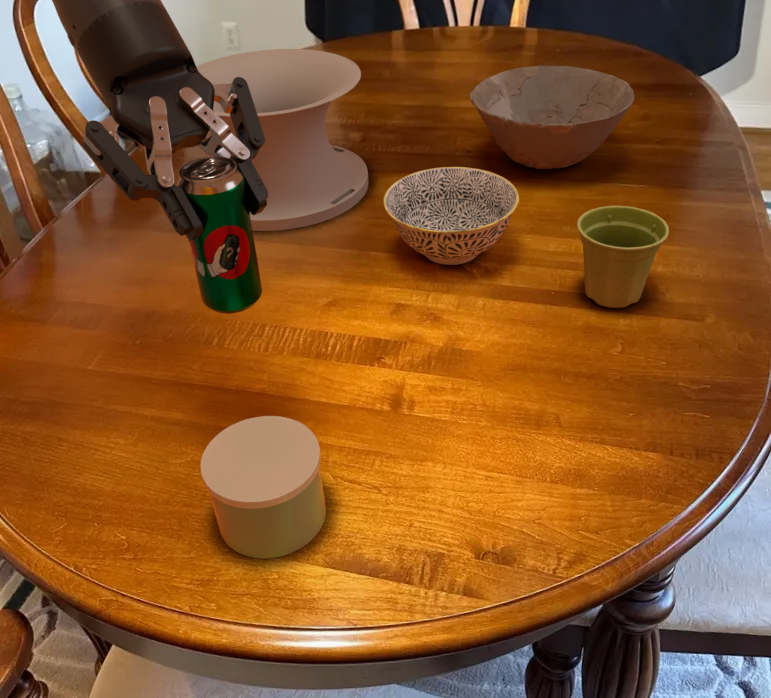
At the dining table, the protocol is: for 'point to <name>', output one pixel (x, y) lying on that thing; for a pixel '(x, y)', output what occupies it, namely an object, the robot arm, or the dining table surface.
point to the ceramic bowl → (551, 112)
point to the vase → (296, 133)
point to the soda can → (222, 235)
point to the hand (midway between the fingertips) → (229, 221)
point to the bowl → (451, 211)
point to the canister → (265, 485)
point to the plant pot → (619, 252)
